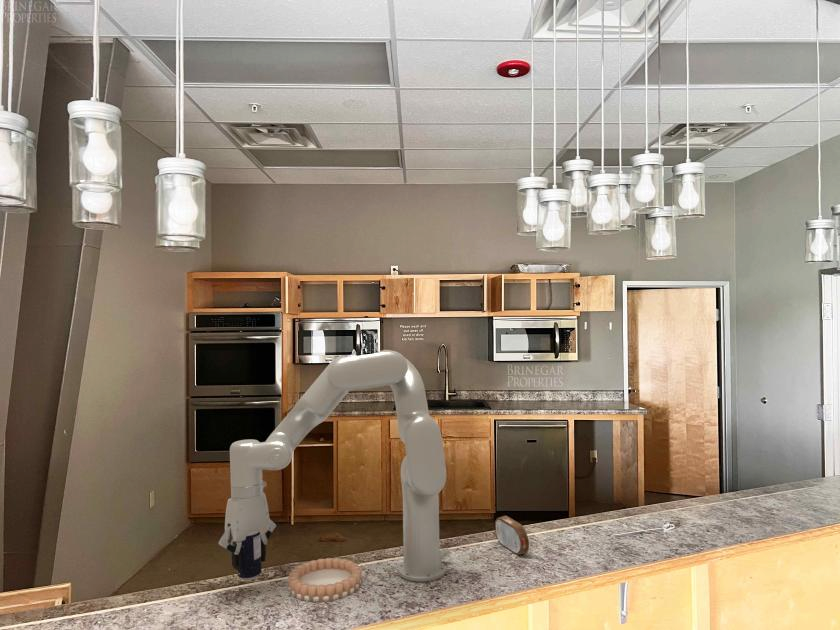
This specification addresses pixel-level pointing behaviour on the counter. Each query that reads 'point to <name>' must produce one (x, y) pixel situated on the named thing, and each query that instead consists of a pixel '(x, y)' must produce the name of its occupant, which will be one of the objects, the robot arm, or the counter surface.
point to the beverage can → (251, 556)
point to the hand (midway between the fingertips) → (249, 563)
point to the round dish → (324, 580)
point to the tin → (512, 535)
